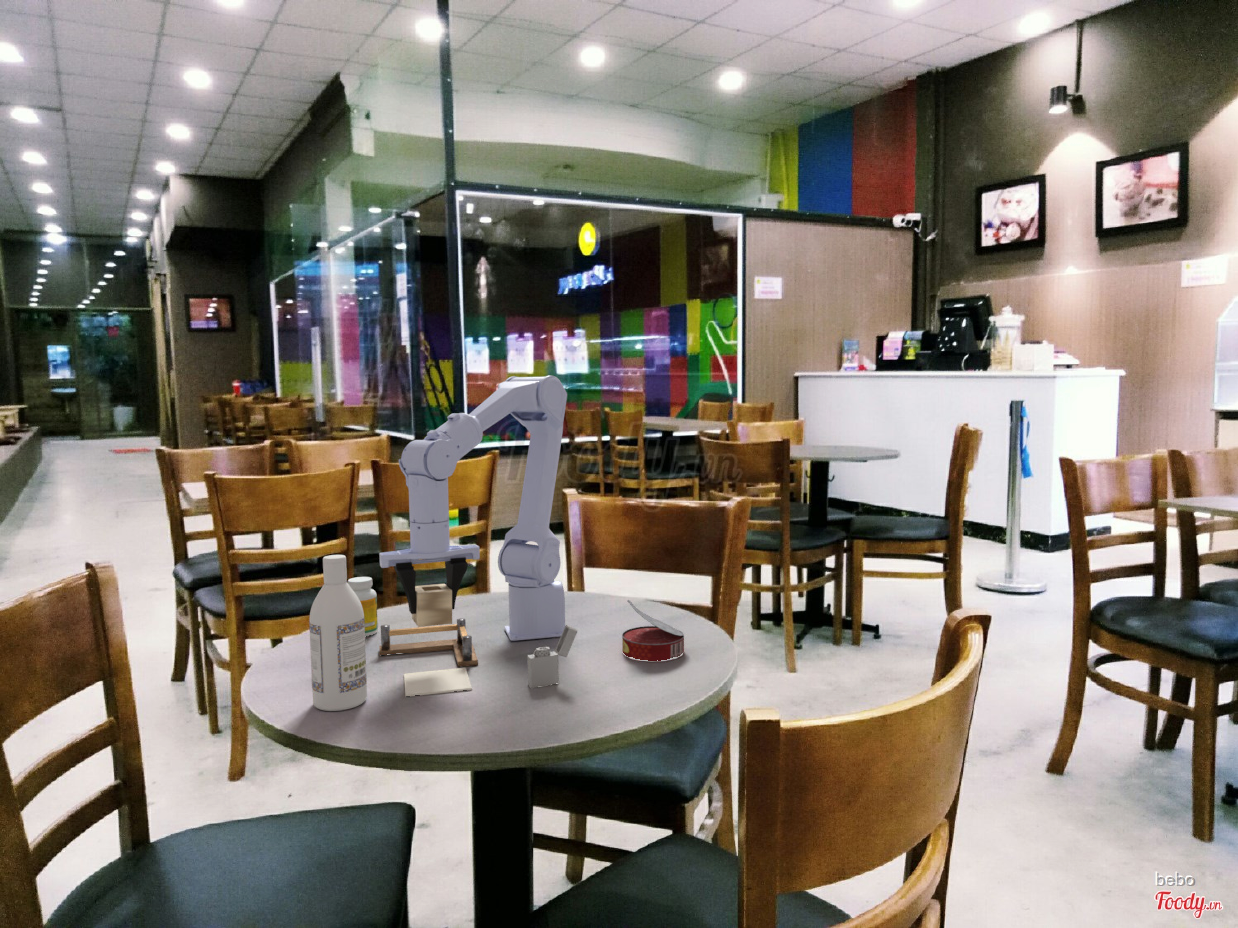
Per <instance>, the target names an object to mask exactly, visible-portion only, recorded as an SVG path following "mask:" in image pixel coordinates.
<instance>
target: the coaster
mask: <svg viewBox="0 0 1238 928" xmlns="http://www.w3.org/2000/svg"><path fill="white" fill-rule="evenodd" d="M403 680H404V681H403V682H404V696H405V698H407V697H406V696H410V697H416V696H415V695H420V696H426V695H438V694H446V693H455V692H454V691H457V692H464V691H463V690H467V691H472V690H473V689H472V685H471V684H472V683H471V680H470V678H469V675H468V669H467V667H457V668H449V669H437V670H426V671H417V672H408V673H403Z"/></svg>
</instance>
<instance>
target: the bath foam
mask: <svg viewBox="0 0 1238 928" xmlns="http://www.w3.org/2000/svg"><path fill="white" fill-rule="evenodd" d="M322 569H323V573H322V574H323V585H322V587H321V589H320V590H319V592H318V593H317V595H316V597H315V599H314V600H313V602H312V604H311V608H310V612H309V620H308V622H309V625H308V627H309V644H310V647H309V648H310V667H311V669H310V670H311V688H312V704H313V706H314V707H315V708H316V709H318V710H321V711H325V712H326V711H327V712H340V711H346V710H350V709H353V708H356V707H358V706H360V705H362V704H363V703H365V701H366V700H367V697H368V689H367V687H368V685H367V684H368V683H367V657H366V653H367V652H366V637H365V626H364V613H363V608H362V605H361V602H360V600H359V598H358V597H357V595H356V594H355V592H354V591H353V590H352V588H351V587H350V586H349V584H348V580H347V579H348V573H347V571H348V570H347V557H346V555H344V554H331V555H326V556H323V558H322Z"/></svg>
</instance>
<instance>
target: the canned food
mask: <svg viewBox="0 0 1238 928" xmlns="http://www.w3.org/2000/svg"><path fill="white" fill-rule="evenodd" d="M627 603H628V604H629V605H630V606H631V607H632V608H633V610H634V611H635V612H636V613H637V614H638V615H640V616H641V617H642V618H643V619H644V620H646V622H648V623H650V624H651V625H647V626H646V625H645V626H637V627H632V628H629V629H627V630H624V631H623V632H622V635H621V637H622V640H621V641H622V644H621V645H622V648H621V649H622V652H623V653H624V654H625V655H626V656H628V657H633V658H635V659H640V660H648V661H657V660H658V661H661V660H667V659H670V658H673V657H678V656H680V655H681V654H682V653H683V652H684V653H685V633H684V632H683V631H681V630H679V629H677V628H675V627H673V626H671V625H670V624H666V623H665V622H663V621H660V620H658V619H656V618H653V616H650V615H649V614H646V613H644V612H642V610H640V609H638V608H637V607H636V605H634V604H633V602H632V601H631V600H629V599H628V600H627ZM623 653H622V654H623Z"/></svg>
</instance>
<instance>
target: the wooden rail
mask: <svg viewBox="0 0 1238 928" xmlns="http://www.w3.org/2000/svg"><path fill="white" fill-rule="evenodd" d="M466 629H467V627H466V618H457V619H456V623H455V624H453V623H452V624H444V625H434V626H424V627H418V626H417V627H406V628H395V629H391V628H390V624H382V625H380V645H379V651H378V653H379V654H378V655H379V656H380V655H387V654H396V653H409V654H416V653H417V654H419V653H427V652H428V653H429V652H430V653H431V652H439V651H449V650H453V653H454V657H455V661H456V664H457V668H464V667H470V666H472V667H473V666H479V659H478V655H477V653H476V651H475V648H474V646H473V642H472V641H473V640H472V638H473V637H472V635H468V632H467V630H466ZM451 631H452V632H453V631H454V632H455V631H456V637H457V638H451V639H440V640H431V641H429V640H428V641H418V642H407V643H398V644H397V643H395V644H394V643H393V644H391V637H394V636H405V635H408V636H409V635H417V634H418V635H419V634H428V633H430V634H431V633H441V632H451ZM387 656H388V655H387Z"/></svg>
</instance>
